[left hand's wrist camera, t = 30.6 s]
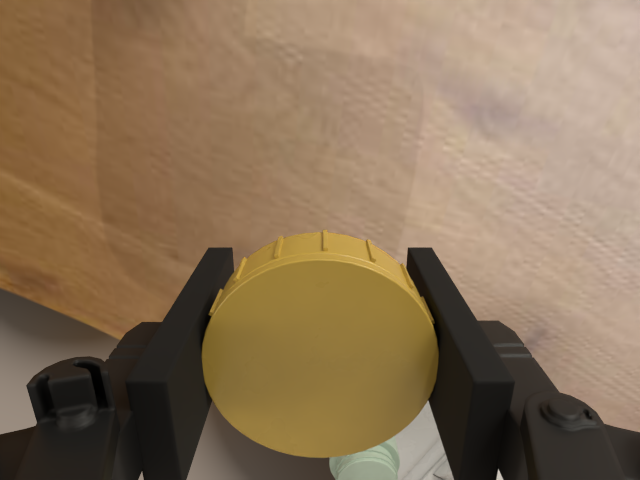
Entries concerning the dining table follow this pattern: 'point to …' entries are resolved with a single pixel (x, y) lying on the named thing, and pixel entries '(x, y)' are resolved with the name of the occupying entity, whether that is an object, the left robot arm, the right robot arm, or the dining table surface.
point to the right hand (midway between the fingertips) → (347, 388)
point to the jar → (368, 463)
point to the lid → (320, 346)
